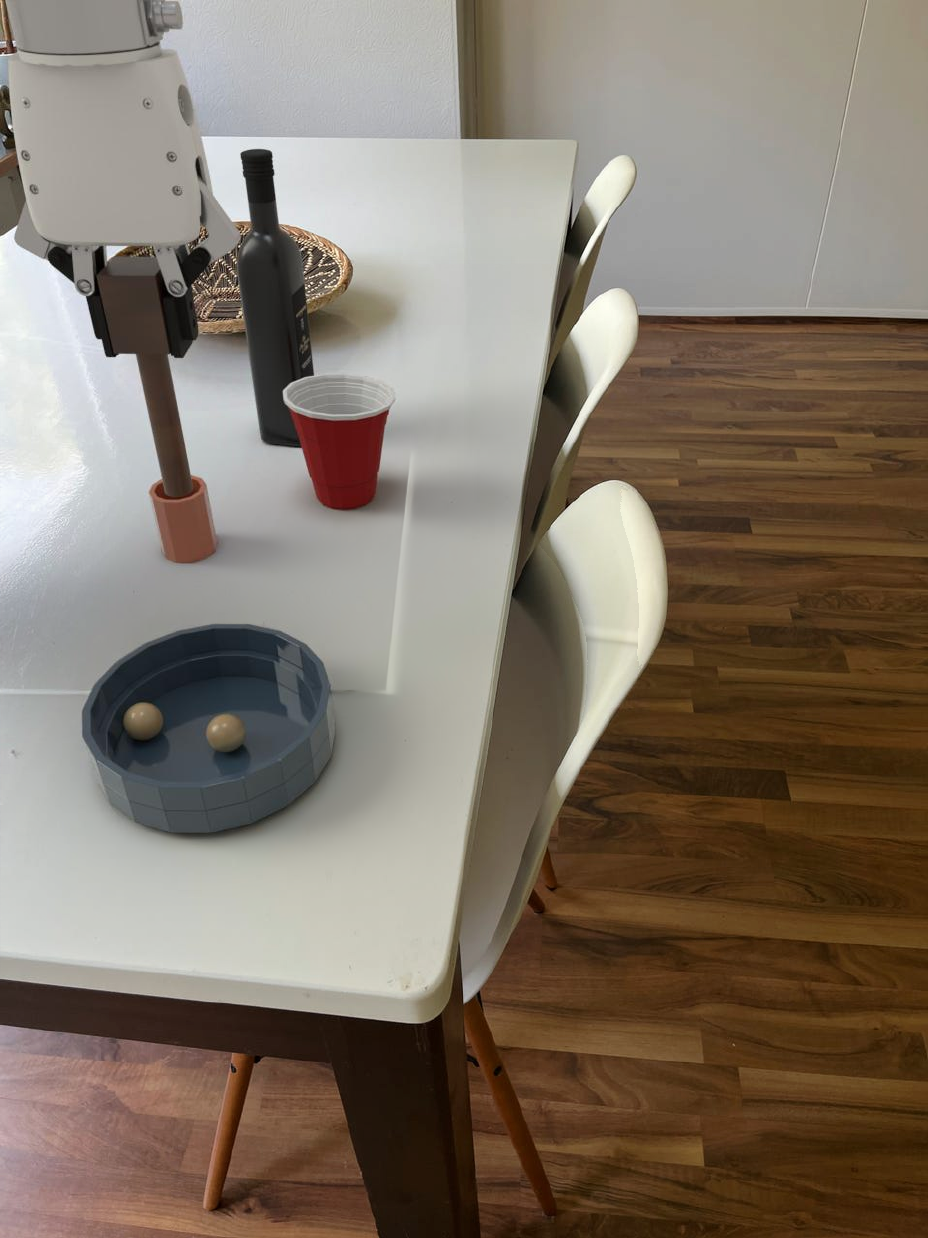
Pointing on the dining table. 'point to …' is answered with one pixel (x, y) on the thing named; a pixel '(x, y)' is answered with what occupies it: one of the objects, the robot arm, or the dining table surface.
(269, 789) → the bowl
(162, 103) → the robot arm
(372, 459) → the plastic cup
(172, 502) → the stick holder
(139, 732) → the bead
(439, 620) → the dining table surface
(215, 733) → the bead
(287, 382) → the wine bottle
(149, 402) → the stick
